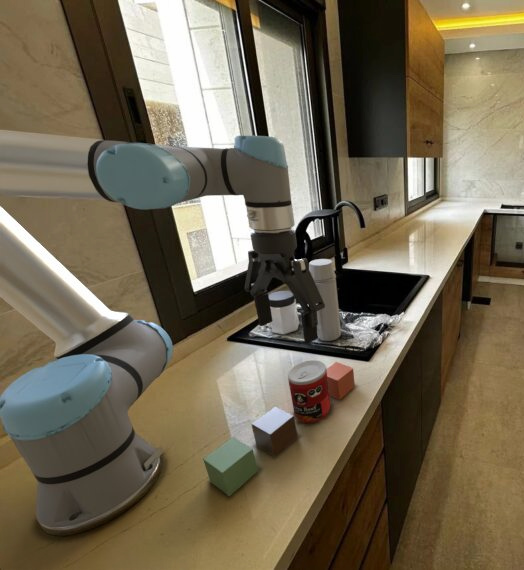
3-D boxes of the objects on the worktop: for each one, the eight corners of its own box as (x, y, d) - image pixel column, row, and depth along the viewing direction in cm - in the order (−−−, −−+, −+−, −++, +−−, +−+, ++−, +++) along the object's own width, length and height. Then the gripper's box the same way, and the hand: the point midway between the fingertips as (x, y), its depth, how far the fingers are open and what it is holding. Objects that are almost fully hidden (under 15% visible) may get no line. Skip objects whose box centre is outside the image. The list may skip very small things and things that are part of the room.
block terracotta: (322, 392, 80) (320, 373, 78) (338, 379, 84) (336, 361, 82) (339, 399, 77) (337, 380, 75) (354, 386, 82) (353, 368, 80)
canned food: (287, 421, 71) (279, 379, 67) (307, 396, 78) (301, 357, 74) (320, 427, 69) (314, 384, 65) (336, 401, 77) (332, 362, 73)
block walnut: (256, 445, 65) (251, 423, 63) (279, 426, 69) (275, 406, 67) (274, 456, 62) (270, 434, 60) (297, 436, 67) (294, 415, 65)
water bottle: (325, 329, 109) (317, 257, 99) (346, 333, 106) (339, 259, 97) (308, 343, 100) (297, 266, 91) (330, 347, 98) (321, 269, 89)
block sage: (210, 482, 57) (202, 459, 55) (239, 458, 62) (233, 436, 60) (229, 496, 55) (222, 473, 53) (258, 471, 60) (252, 448, 57)
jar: (297, 333, 106) (292, 299, 102) (270, 336, 104) (263, 301, 100) (300, 320, 114) (296, 289, 110) (275, 323, 112) (270, 291, 108)
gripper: (211, 224, 62) (233, 323, 69) (305, 242, 51) (318, 358, 58) (248, 219, 68) (264, 310, 76) (338, 233, 57) (346, 339, 64)
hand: (287, 331), depth 67 cm, fingers open, 13 cm apart
